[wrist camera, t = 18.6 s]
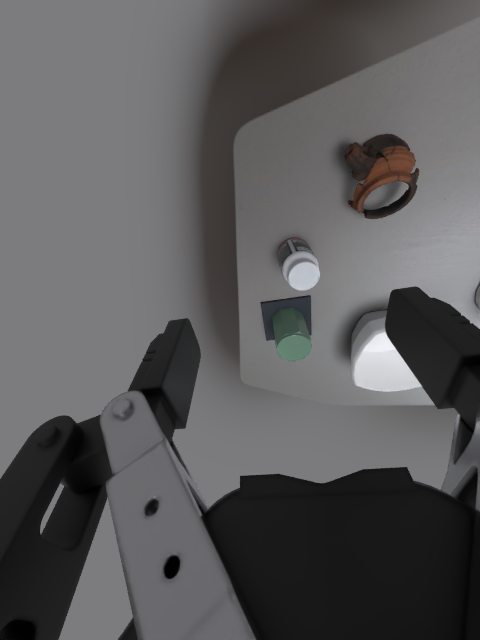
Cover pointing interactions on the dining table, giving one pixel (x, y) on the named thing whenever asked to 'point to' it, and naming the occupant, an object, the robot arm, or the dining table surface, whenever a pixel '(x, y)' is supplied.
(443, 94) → the dining table surface
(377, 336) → the bowl
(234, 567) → the robot arm
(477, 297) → the jar
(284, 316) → the cup
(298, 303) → the coaster
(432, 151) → the dining table surface
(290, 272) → the pill bottle
